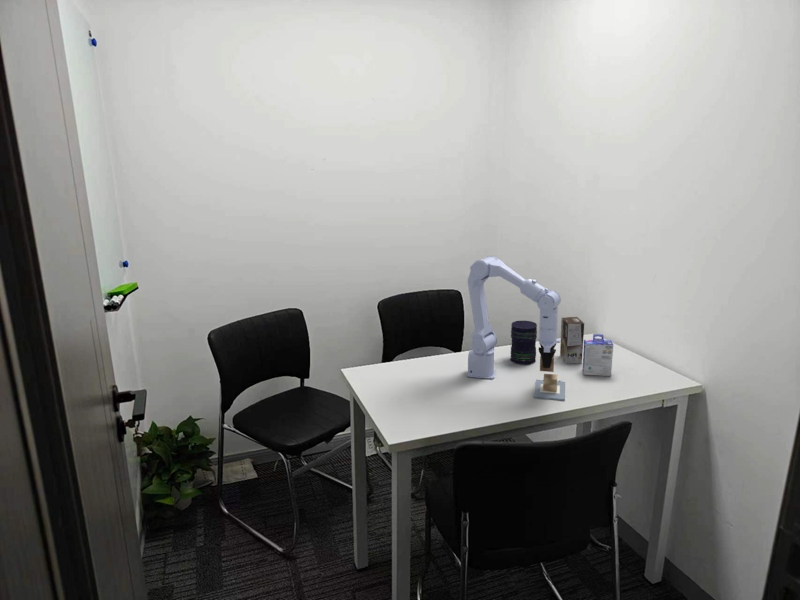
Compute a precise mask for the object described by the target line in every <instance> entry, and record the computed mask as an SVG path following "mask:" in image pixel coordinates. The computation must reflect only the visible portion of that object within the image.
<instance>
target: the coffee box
mask: <svg viewBox="0 0 800 600" xmlns="http://www.w3.org/2000/svg"><path fill="white" fill-rule="evenodd" d="M560 323H561V324H560V346H559V347H560V348H559V350H560V351H559V356H560V357H561V358H562V359H563V361H564V362H565V363H566V364H583V352H584V337H585V336H584V335H585V334H584V333H585V323H584V321H583V320H581V319H580V318H579V317H578V316H567V317H561V321H560Z"/></svg>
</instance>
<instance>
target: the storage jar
mask: <svg viewBox="0 0 800 600" xmlns="http://www.w3.org/2000/svg"><path fill="white" fill-rule="evenodd" d="M537 327H538V325H537V323H536V322H534V321H531V320H516V321H513V322H512V323H511V328H510V338H511V346H510V362H511V363H513V364H516V365H520V366H521V365H522V366H530V365H533V364H535V363H536V361H537V360H536V357H537V347H536V345H537V343H536V341H537V337H538V331H537V330H538V329H537Z"/></svg>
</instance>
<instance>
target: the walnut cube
mask: <svg viewBox="0 0 800 600" xmlns="http://www.w3.org/2000/svg"><path fill="white" fill-rule="evenodd" d="M539 357H540V358H539V371H540V372H548V373H550V372H551V373H554V370H555V367H554V366H555V355H554V356H553V358H552V362H551V366H550V368H543V363H542V358H541V355H540V356H539Z"/></svg>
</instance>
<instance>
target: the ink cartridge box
mask: <svg viewBox="0 0 800 600" xmlns="http://www.w3.org/2000/svg"><path fill="white" fill-rule="evenodd" d="M597 337H600V338H597ZM613 352H614V343H613V341H612V340H611V339H605V338H604V334H598V333H597V334H595V333H594V334H592V339H583V353H582V369H581V370H582V374H583V375H585V376H603V377H605V376H606V377H612V368H613V355H614V354H613Z"/></svg>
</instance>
